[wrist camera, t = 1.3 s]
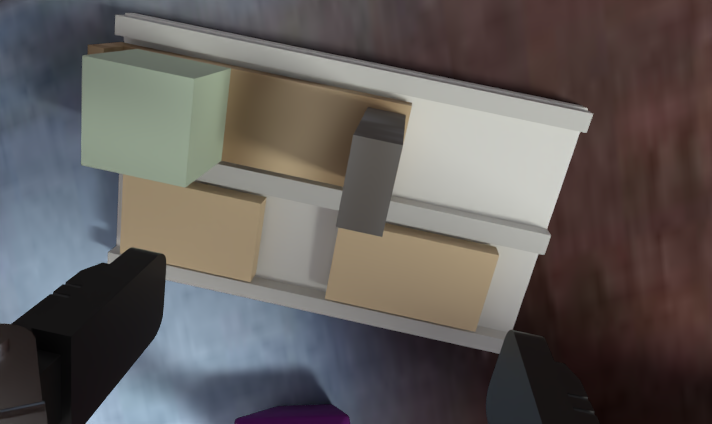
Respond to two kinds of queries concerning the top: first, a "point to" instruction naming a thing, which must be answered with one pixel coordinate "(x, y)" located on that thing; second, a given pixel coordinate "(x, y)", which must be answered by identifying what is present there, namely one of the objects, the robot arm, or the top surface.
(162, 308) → the robot arm
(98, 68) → the block
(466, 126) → the lane board
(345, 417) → the perfume bottle
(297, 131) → the tan slider with post
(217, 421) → the top surface
